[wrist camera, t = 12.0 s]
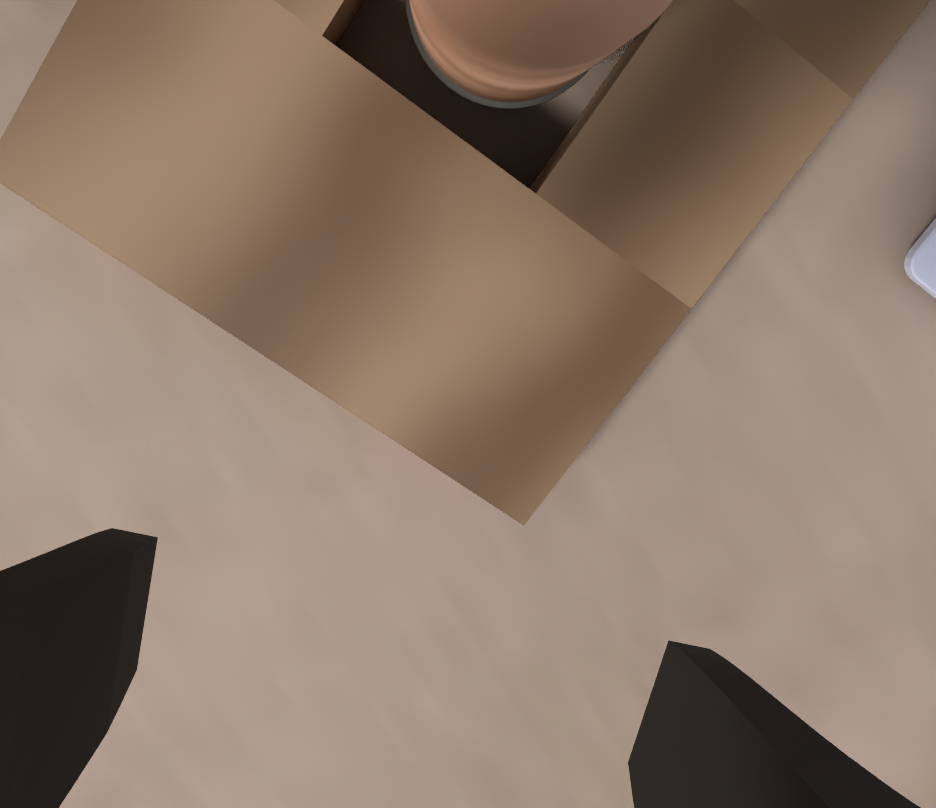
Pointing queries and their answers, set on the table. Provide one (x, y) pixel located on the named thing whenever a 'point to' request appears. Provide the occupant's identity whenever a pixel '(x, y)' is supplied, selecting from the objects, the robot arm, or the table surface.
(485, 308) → the board
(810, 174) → the table surface
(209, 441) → the table surface
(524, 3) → the peg
